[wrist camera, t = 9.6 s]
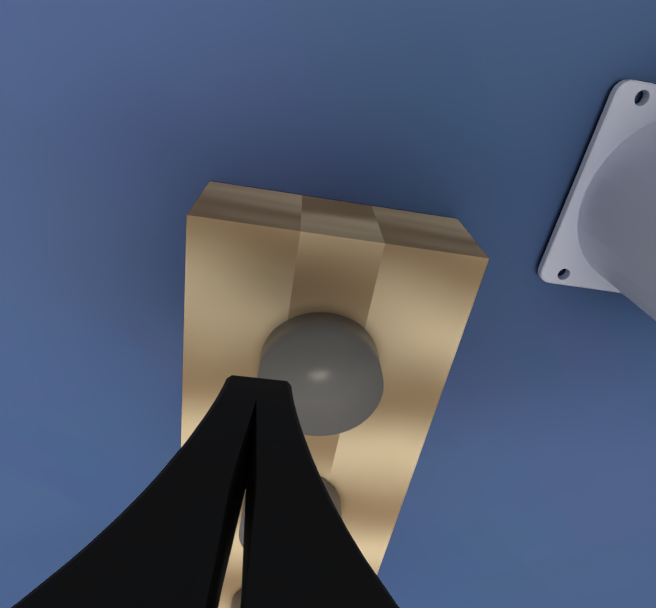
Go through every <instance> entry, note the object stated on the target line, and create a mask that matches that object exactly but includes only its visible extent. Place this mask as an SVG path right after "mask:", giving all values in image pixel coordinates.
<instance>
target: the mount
mask: <svg viewBox="0 0 656 608" xmlns="http://www.w3.org/2000/svg"><path fill="white" fill-rule="evenodd" d="M488 261H489V258H488V256H487V255H486V254H485V253H484V251H483V250H482V249H481V248H480V246H479V245H478V244H477V243H476V241H475V240H474V239H473V238H472V236H471V235H470V234H469V233H468V231H467V230H466V229H465V228H464V226H463V225H462V224H461V223H460V221H459V220H458V219H455V218H449V217H442V216H435V215H429V214H422V213H416V212H409V211H402V210H396V209H389V208H383V207H376V206H370V205H363V204H356V203H350V202H343V201H337V200H330V199H324V198H317V197H310V196H304V195H297V194H291V193H284V192H278V191H271V190H264V189H258V188H251V187H245V186H238V185H232V184H225V183H218V182H212V181H210V182H209V183H208V185H207V186H206V187H205V189H204V190H203V192H202V193H201V195H200V196H199V198H198V199H197V201H196V202H195V204H194V205H193V206H192V208H191V209H190V211H189V212H188V214H187V221H186V263H185V304H184V346H183V388H182V429H181V447H182V446H183V445H184V443H185V442H186V441H187V440H188V438H189V437H190V436H191V434H192V433H193V431H194V430H195V429H196V427H197V426H198V425H199V423H200V422H201V420H202V419H203V418H204V416H205V415H206V413H207V412H208V410H209V409H210V407H211V406H212V404H213V403H214V401H215V399H216V398H217V396H218V394H219V392H220V391H221V389H222V387H223V385H224V383H225V381H226V379H227V378H228V377H230V376H231V375H236V376H245V377H255V378H257V375H258V369H259V362H260V356H261V351H262V348H263V345H264V343H265V341H266V339H267V338H268V337H269V335H270V334H271V333H272V332H273V331H274V330H275V329H276V328H277V327H278V326H279V325H281V324H282V323H284V322H285V321H287V320H289V319H291V318H294V317H296V316H299V315H303V314H307V313H316V312H324V313H333V314H338V315H341V316H344V317H347V318H349V319H351V320H353V321H355V322H356V323H358V324H359V325H360V326H362V327H363V328H364V329H365V330H366V331H367V332H368V333H369V335H370V336H371V337H372V339H373V341H374V343H375V345H376V348H377V351H378V356H379V361H380V365H381V370H382V375H383V381H384V390H383V395H382V398H381V401H380V403H379V405H378V407H377V408H376V410H375V411H374V412H373V414H372V415H371V416H370V417H369V418H368V419H367V420H365V421H364V422H363V423H361V424H360V425H358V426H357V427H355V428H353V429H351V430H348V431H346V432H343V433H339V434H335V435H329V436H309V435H304V437H305V440H306V442H307V445H308V447H309V450H310V453H311V455H312V458H313V460H314V463H315V465H316V467H317V470H318V472H319V474H320V476H321V478H322V479H324V480H325V481H327V482H328V483H330V484H331V485H332V486H333V487H334V488H335V489H336V491H337V493H338V495H339V497H340V501H341V515H342V520H343V522H344V524H345V525H346V527H347V529H348V531H349V533H350V534H351V536H352V538H353V539H354V541H355V542H356V544H357V546H358V547H359V549H360V551H361V552H362V554H363V556H364V557H365V559H366V560H367V562H368V563H369V565H370V566H371V568H372V569H373V570H374V572H375V573H376V575H377V573H378V571H379V568H380V565H381V562H382V559H383V557H384V554H385V551H386V548H387V545H388V542H389V540H390V537H391V534H392V531H393V528H394V526H395V523H396V520H397V517H398V514H399V511H400V509H401V506H402V503H403V500H404V497H405V495H406V492H407V489H408V486H409V483H410V480H411V478H412V475H413V472H414V469H415V466H416V464H417V461H418V458H419V455H420V452H421V449H422V447H423V444H424V441H425V438H426V435H427V433H428V430H429V427H430V424H431V421H432V419H433V416H434V413H435V410H436V407H437V404H438V402H439V399H440V396H441V393H442V390H443V388H444V385H445V382H446V379H447V376H448V373H449V371H450V368H451V365H452V362H453V359H454V357H455V354H456V351H457V348H458V345H459V342H460V340H461V337H462V334H463V331H464V328H465V326H466V323H467V320H468V317H469V314H470V312H471V309H472V306H473V303H474V300H475V297H476V295H477V292H478V289H479V286H480V283H481V281H482V278H483V275H484V272H485V269H486V266H487V264H488ZM245 492H246V489H245ZM244 497H245V494H244ZM243 500H244V498H243ZM242 507H243V502H242ZM242 507H241V511H240V515H239V519H238V524H237V528H236V532H235V536H234V540H233V545H232V549H231V553H230V557H229V562H228V566H227V570H226V574H225V578H224V583H223V587H222V591H221V596H220V601H219V607H218V608H231V602H232V599H233V597H234V596H235V595H236V594H237V593H238V592H239V591H240V590H242V566H243V547H242V545H241V543H240V540H239V528H240V521H241V514H242Z"/></svg>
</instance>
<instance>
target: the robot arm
mask: <svg viewBox="0 0 656 608" xmlns="http://www.w3.org/2000/svg"><path fill="white" fill-rule="evenodd" d="M641 90H642V92H643V97H642V99H641V101H640V102H639V103H637V104H635V101H634V100H635V96H636V95H637V93H638V92H640V91H641ZM562 269H566V271H565V272H564V274H562V275H560V276H558V273H559V271H560V270H562ZM538 276H539V277H540V278H541V279H542V280H543V281H545V282H547V283H554V284H561V285H568V286H575V287H582V288H589V289H597V290H604V291H611V292H618V293H622V294H624V295H625V296H626V297H627V298H628V299H630V300H631V301H632V302H633V303H634V304H636V305H637V306H638V307H639V308H640V309H642V310H643V311H644V312H645V313H647V314H648V315H649V316H650V317H651V318H653V319H654V320H655V321H656V84H653V83H648V82H642V81H637V80H631V79H627V80H622V81H620V82H618V83H617V84H616V85H615V86H614V87H613V89H612V91H611V93H610V95H609V97H608V100H607V102H606V105H605V107H604V110H603V112H602V114H601V117H600V119H599V122H598V124H597V127H596V129H595V131H594V134H593V136H592V139H591V141H590V144H589V146H588V148H587V151H586V153H585V156H584V158H583V160H582V163H581V165H580V168H579V170H578V173H577V175H576V177H575V180H574V182H573V185H572V187H571V190H570V192H569V194H568V197H567V199H566V202H565V204H564V207H563V209H562V211H561V214H560V216H559V219H558V221H557V224H556V226H555V228H554V231H553V233H552V236H551V238H550V240H549V243H548V245H547V248H546V250H545V253H544V255H543V257H542V260H541V262H540V265H539V267H538ZM245 489H246V492H245ZM244 494H245V516H244V541H243V566H242V590H241V604H240V608H399V607H398V605H397V604H396V602H395V601H394V600H393V598H392V597H391V595H390V594H389V592H388V591H387V589H386V588H385V586H384V585H383V584H382V582H381V581H380V579H379V578H378V576H377V575H376V573H375V572H374V570H373V569H372V568H371V566H370V565H369V563H368V562H367V560H366V559H365V557H364V556H363V554H362V552H361V551H360V549H359V547H358V546H357V544H356V542H355V541H354V539H353V538H352V536H351V534H350V533H349V531H348V529H347V527H346V525H345V524H344V522H343V520H342V518H341V517H340V515H339V513H338V511H337V509H336V507H335V505H334V503H333V502H332V499H331V497H330V495H329V493H328V491H327V489H326V487H325V485H324V483H323V481H322V479H321V476H320V474H319V472H318V470H317V467H316V465H315V463H314V460H313V458H312V455H311V453H310V450H309V447H308V445H307V442H306V440H305V437H304V434H303V431H302V428H301V425H300V422H299V419H298V415H297V412H296V408H295V404H294V400H293V394H292V386H291V385H290V384H289V382H288V381H282V380H273V379H264V378H255V377H245V376H236V375H231V376H230V377H228V378H227V379H226V381H225V383H224V385H223V387H222V389H221V391H220V392H219V394H218V396H217V398H216V399H215V401H214V403H213V404H212V406H211V407H210V409H209V410H208V412H207V413H206V415H205V416H204V418H203V419H202V420H201V422H200V423H199V425H198V426H197V427H196V429H195V430H194V431H193V433H192V434H191V436H190V437H189V438H188V440H187V441H186V442H185V443H184V445H183V446H182V447H181V448H180V450H179V451H178V452H177V453H176V454H175V456H174V457H173V458H172V459H171V460H170V462H169V463H168V464H167V465H166V466H165V468H164V469H163V470H162V471H161V472H160V474H159V475H158V476H157V477H156V478H155V479H154V480H153V481H152V482H151V483H150V485H149V486H148V487H147V488H146V489H145V490H144V491H143V492H142V493H141V494H140V495H139V496H138V497H137V498H136V499H135V500H134V501H133V502H132V503H131V504H130V505H129V506H128V507H127V508H126V509H125V510H124V511H123V512H122V513H121V514H120V515H119V516H118V517H117V518H116V519H115V520H114V521H113V522H112V523H111V524H110V525H109V526H108V527H107V528H105V529H104V530H103V531H102V532H101V533H100V534H99V535H98V536H97V537H96V538H95V539H94V540H93V541H92V542H90V543H89V544H88V545H87V546H86V547H85V548H84V549H83V550H81V551H80V552H79V553H78V554H77V555H76V556H74V557H73V558H72V559H71V560H70V561H69V562H67V563H66V564H65V565H64V566H62V567H61V568H60V569H59V570H57V571H56V572H55V573H54V574H53V575H51V576H50V577H49V578H48V579H46V580H45V581H44V582H43V583H41V584H40V585H39V586H38V587H37V588H35V589H34V590H33V591H32V592H30V593H29V594H28V595H27V596H25V597H24V598H23V599H22V600H20V601H19V602H18V603H17V604H15V605H14V606H13V607H11V608H218V607H219V601H220V596H221V591H222V587H223V583H224V578H225V574H226V570H227V566H228V562H229V557H230V553H231V549H232V545H233V540H234V536H235V532H236V528H237V524H238V519H239V515H240V511H241V507H242V502H243V498H244Z"/></svg>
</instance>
